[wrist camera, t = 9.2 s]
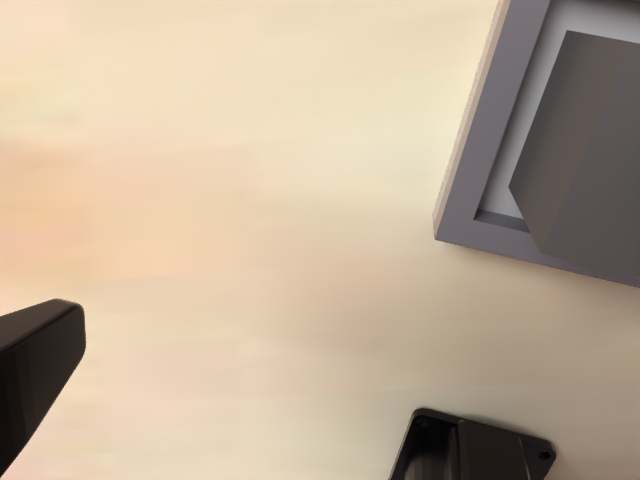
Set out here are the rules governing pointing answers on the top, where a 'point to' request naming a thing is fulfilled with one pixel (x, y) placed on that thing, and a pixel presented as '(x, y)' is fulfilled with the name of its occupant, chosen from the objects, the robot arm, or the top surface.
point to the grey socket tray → (516, 124)
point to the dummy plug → (585, 156)
